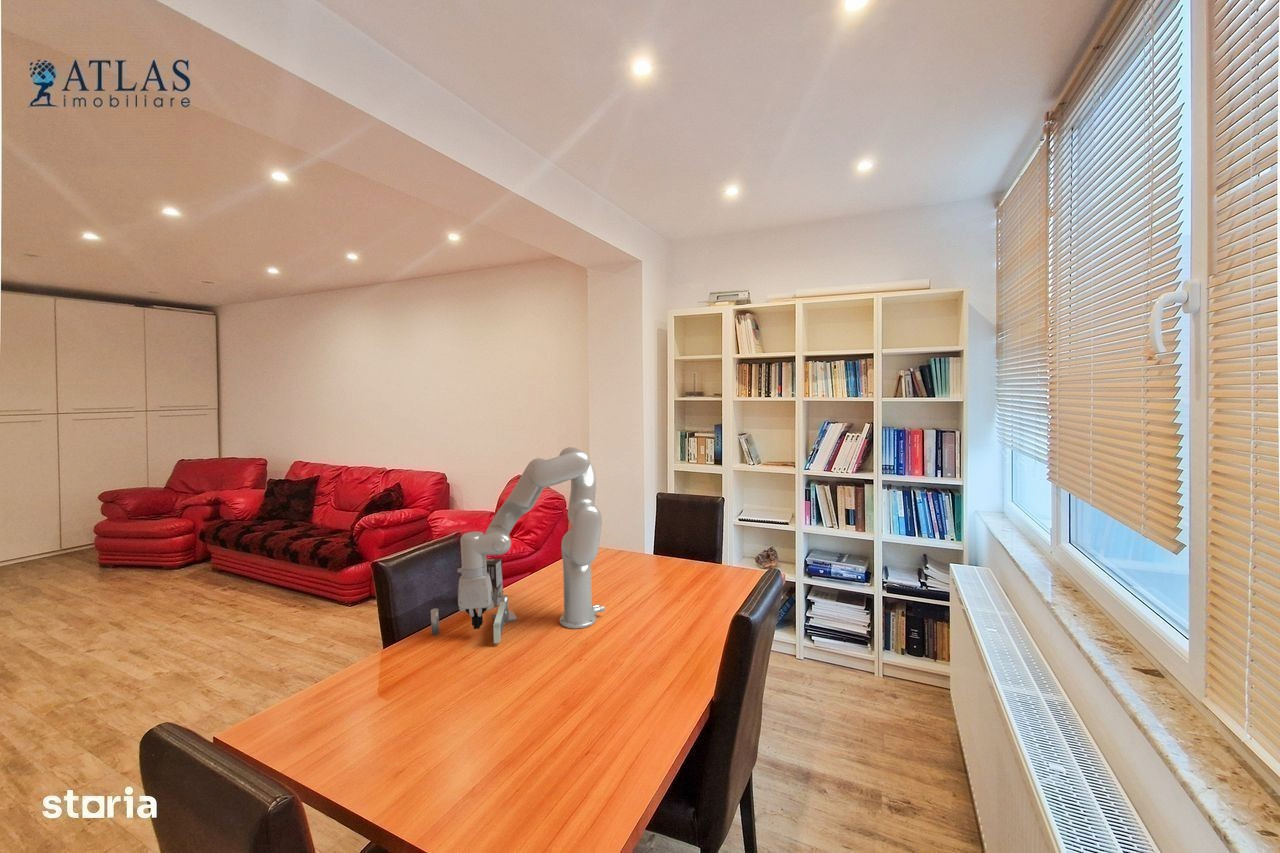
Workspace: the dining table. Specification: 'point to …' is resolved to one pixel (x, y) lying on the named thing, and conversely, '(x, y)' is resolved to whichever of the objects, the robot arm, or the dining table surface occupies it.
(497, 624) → the gate
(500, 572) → the coffee box
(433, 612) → the post
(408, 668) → the dining table surface
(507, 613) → the grey post with base
